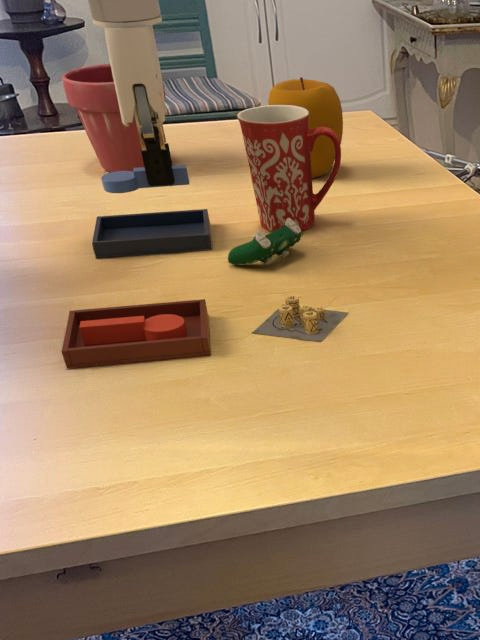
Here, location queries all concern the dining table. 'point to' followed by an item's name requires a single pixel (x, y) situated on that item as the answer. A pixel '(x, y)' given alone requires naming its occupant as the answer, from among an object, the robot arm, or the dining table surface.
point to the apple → (314, 115)
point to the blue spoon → (139, 179)
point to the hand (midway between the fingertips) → (161, 180)
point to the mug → (284, 163)
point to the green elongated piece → (266, 245)
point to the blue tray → (152, 233)
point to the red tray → (143, 349)
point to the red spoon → (132, 329)
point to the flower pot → (103, 117)
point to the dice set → (300, 321)
